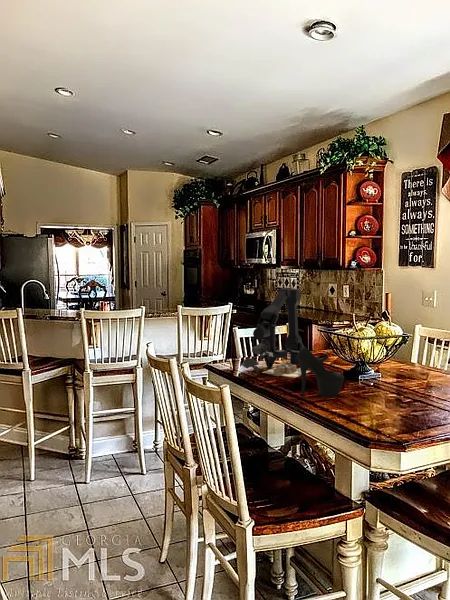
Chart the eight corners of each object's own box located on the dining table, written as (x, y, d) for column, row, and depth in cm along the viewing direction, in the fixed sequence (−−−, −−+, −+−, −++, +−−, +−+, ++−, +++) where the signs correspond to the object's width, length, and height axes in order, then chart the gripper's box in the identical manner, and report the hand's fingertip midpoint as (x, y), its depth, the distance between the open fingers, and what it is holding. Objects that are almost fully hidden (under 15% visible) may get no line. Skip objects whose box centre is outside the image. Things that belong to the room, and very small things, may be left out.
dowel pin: (298, 374, 235) (299, 367, 234) (302, 374, 234) (302, 368, 233) (297, 375, 233) (297, 368, 233) (300, 375, 232) (300, 368, 232)
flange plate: (283, 369, 245) (283, 362, 245) (296, 371, 241) (296, 364, 240) (269, 374, 234) (269, 367, 234) (282, 376, 230) (282, 369, 230)
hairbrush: (250, 369, 240) (241, 356, 264) (250, 377, 240) (241, 363, 265) (267, 369, 241) (256, 356, 266) (267, 376, 242) (256, 363, 266)
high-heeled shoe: (346, 397, 200) (346, 347, 199) (299, 398, 199) (299, 348, 197) (340, 391, 208) (340, 344, 207) (294, 392, 207) (295, 344, 205)
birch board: (278, 368, 252) (278, 366, 252) (311, 373, 241) (311, 371, 241) (261, 374, 239) (261, 372, 239) (295, 380, 228) (295, 377, 228)
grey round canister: (285, 373, 242) (285, 364, 242) (290, 374, 240) (290, 365, 240) (282, 374, 240) (282, 365, 239) (287, 375, 238) (287, 366, 238)
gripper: (243, 336, 240) (243, 368, 241) (270, 341, 225) (270, 375, 226) (260, 334, 246) (260, 365, 248) (288, 338, 232) (288, 372, 233)
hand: (269, 369), depth 239 cm, fingers closed
